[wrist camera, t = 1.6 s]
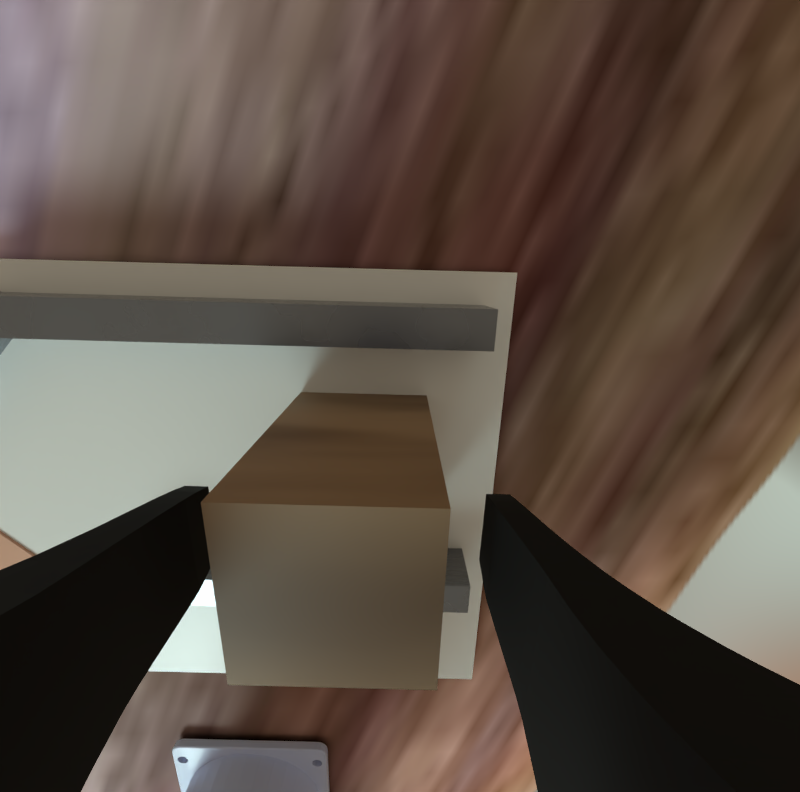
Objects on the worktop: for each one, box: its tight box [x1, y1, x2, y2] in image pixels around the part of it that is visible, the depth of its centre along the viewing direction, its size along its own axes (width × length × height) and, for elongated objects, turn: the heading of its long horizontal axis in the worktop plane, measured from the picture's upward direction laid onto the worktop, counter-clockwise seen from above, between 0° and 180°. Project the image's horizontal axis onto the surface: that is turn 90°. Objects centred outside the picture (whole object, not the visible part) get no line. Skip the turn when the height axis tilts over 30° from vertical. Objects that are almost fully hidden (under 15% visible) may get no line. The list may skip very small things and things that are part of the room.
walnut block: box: [201, 392, 451, 690], centre depth 11 cm, size 4×4×7 cm
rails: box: [0, 291, 498, 613], centre depth 14 cm, size 16×25×2 cm, turn 88°
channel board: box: [0, 259, 517, 679], centre depth 15 cm, size 18×27×1 cm, turn 88°
